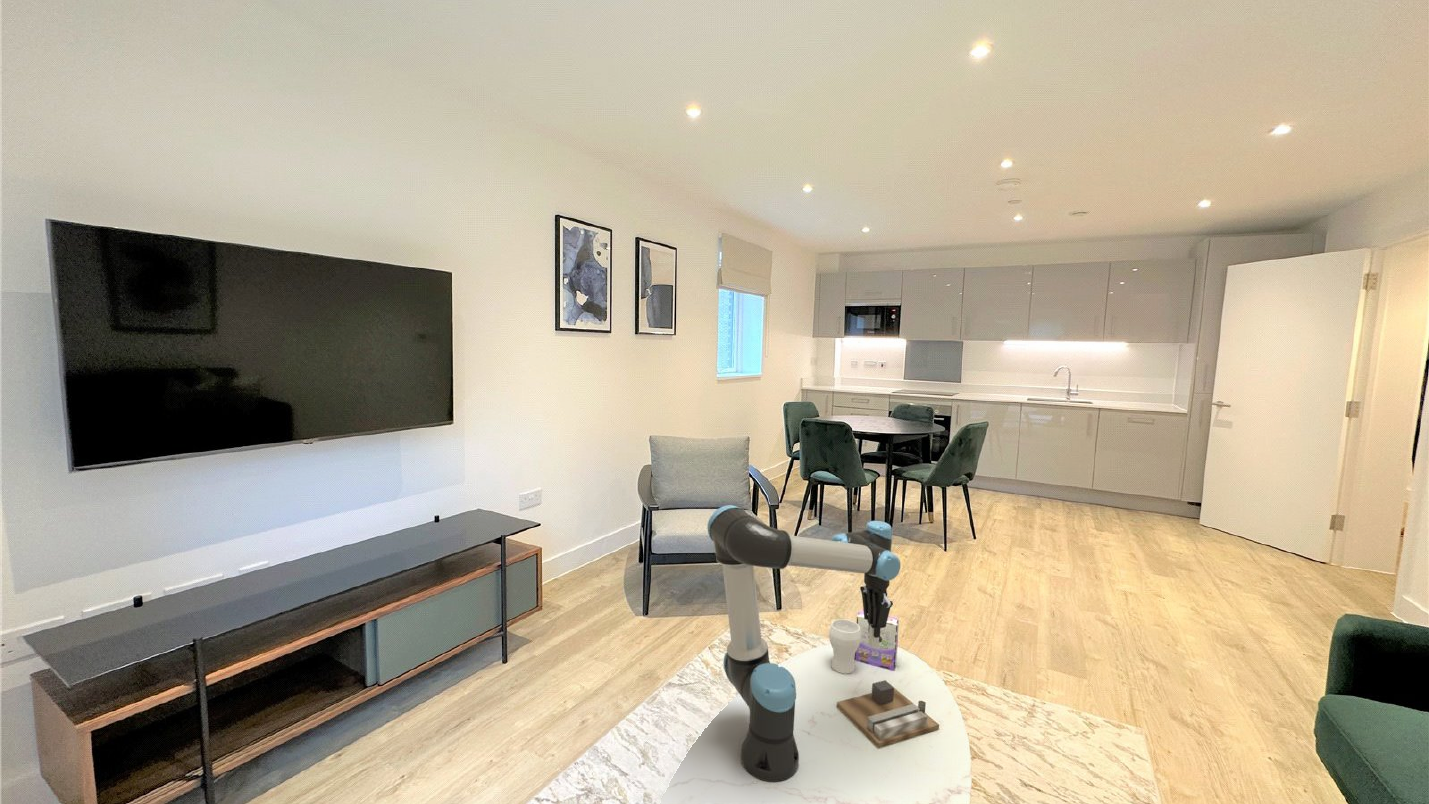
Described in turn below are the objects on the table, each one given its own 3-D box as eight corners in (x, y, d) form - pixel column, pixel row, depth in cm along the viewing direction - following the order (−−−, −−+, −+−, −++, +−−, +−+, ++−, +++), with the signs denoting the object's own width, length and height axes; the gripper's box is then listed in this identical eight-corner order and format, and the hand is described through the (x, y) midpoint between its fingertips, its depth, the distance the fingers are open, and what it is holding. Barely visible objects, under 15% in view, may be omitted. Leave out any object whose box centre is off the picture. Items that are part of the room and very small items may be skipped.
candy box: (896, 662, 194) (899, 618, 193) (894, 671, 189) (897, 625, 187) (856, 652, 200) (859, 608, 198) (853, 660, 194) (856, 615, 193)
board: (878, 748, 151) (879, 729, 151) (836, 706, 168) (837, 689, 168) (938, 729, 160) (940, 711, 159) (893, 691, 177) (894, 675, 177)
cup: (827, 674, 186) (830, 631, 184) (826, 657, 196) (829, 616, 195) (860, 678, 184) (863, 635, 182) (857, 660, 194) (860, 620, 193)
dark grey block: (880, 705, 167) (881, 691, 167) (871, 697, 171) (872, 683, 171) (893, 701, 169) (894, 687, 169) (884, 693, 173) (885, 680, 173)
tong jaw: (872, 732, 155) (873, 722, 155) (866, 726, 157) (867, 717, 157) (918, 718, 162) (919, 708, 161) (913, 713, 164) (913, 703, 164)
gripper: (901, 578, 165) (897, 653, 167) (873, 562, 177) (870, 632, 179) (880, 582, 162) (877, 658, 165) (854, 565, 174) (850, 637, 177)
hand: (873, 645), depth 172 cm, fingers closed
